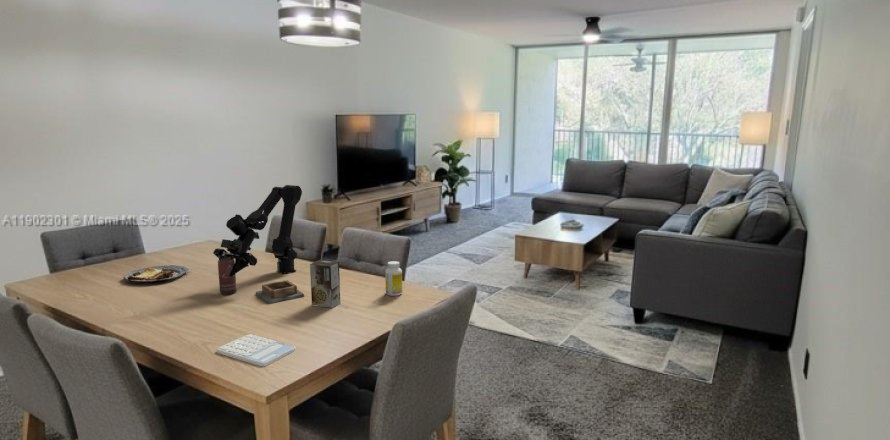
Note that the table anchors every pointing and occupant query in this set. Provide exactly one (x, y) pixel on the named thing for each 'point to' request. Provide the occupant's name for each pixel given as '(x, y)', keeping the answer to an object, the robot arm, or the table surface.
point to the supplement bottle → (393, 279)
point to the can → (226, 276)
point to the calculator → (256, 350)
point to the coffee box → (325, 283)
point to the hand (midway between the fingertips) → (224, 275)
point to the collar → (279, 292)
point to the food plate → (156, 273)
